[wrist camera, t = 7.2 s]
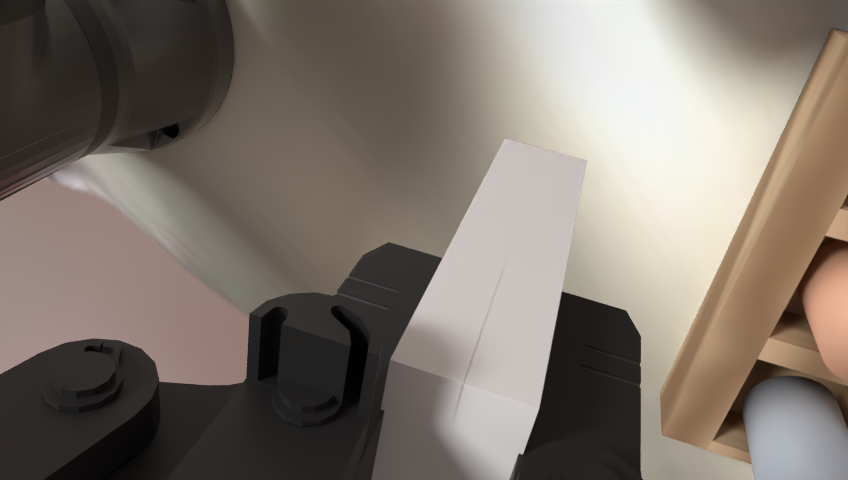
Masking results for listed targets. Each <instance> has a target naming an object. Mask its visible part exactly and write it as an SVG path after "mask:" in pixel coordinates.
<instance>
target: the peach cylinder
mask: <svg viewBox="0 0 848 480" xmlns="http://www.w3.org/2000/svg"><path fill="white" fill-rule="evenodd" d="M797 292H798V295H799V298H800V300H801V303H802V306H803V308H804V311H805V314H806V316H807V319H808V322H809V324H810V327H811V330H812V333H813V335H814V338H815V341H816V343H817V346H818V349H819V351H820V354H821V357H822V359H823V361H824V363H825V365H826V366H827V367H828V368H829V370H830V371H831V372H832V373H834V374H835V375H836V376H838V377H839V378H841V379H843V380H845V381H847V382H848V242H847V241H844V240H840V241H835V242H832V243H829V244H827V245H824V246H822V247H820V248H819V249H817V251H816V253H815V255H814V257H813V258H812V260H811V262H810V264H809V266H808V268H807V269H806V271H805V273H804V275H803V277H802V278H801V280H800V282H799V284H798V286H797Z"/></svg>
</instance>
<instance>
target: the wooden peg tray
mask: <svg viewBox="0 0 848 480" xmlns="http://www.w3.org/2000/svg"><path fill="white" fill-rule="evenodd" d="M840 240H844V241H847V242H848V32H847V31H842V30H838V29H833V28H832V29H831V31H830V33H829V35H828V37H827V39H826V42H825V44H824V46H823V48H822V50H821V52H820V54H819V56H818V59H817V61H816V63H815V65H814V67H813V69H812V71H811V73H810V76H809V78H808V80H807V82H806V84H805V86H804V88H803V90H802V93H801V95H800V97H799V99H798V101H797V103H796V105H795V107H794V110H793V112H792V114H791V116H790V118H789V120H788V122H787V124H786V127H785V129H784V131H783V133H782V135H781V137H780V139H779V141H778V144H777V146H776V148H775V150H774V152H773V154H772V156H771V158H770V161H769V163H768V165H767V167H766V169H765V171H764V173H763V175H762V178H761V180H760V182H759V184H758V186H757V188H756V190H755V192H754V195H753V197H752V199H751V201H750V203H749V205H748V207H747V209H746V212H745V214H744V216H743V218H742V220H741V222H740V224H739V226H738V229H737V231H736V233H735V235H734V237H733V239H732V241H731V243H730V246H729V248H728V250H727V252H726V254H725V256H724V258H723V260H722V263H721V265H720V267H719V269H718V271H717V273H716V275H715V277H714V280H713V282H712V284H711V286H710V288H709V290H708V292H707V294H706V297H705V299H704V301H703V303H702V305H701V307H700V309H699V312H698V314H697V316H696V318H695V320H694V322H693V324H692V326H691V329H690V331H689V333H688V335H687V337H686V339H685V341H684V343H683V346H682V348H681V350H680V352H679V354H678V356H677V358H676V360H675V363H674V365H673V367H672V369H671V371H670V373H669V375H668V377H667V380H666V382H665V384H664V386H663V388H662V390H661V392H660V399H661V427H662V435H663V436H666V437H670V438H673V439H676V440H679V441H682V442H685V443H688V444H691V445H694V446H697V447H700V448H704V449H707V450H710V451H713V452H716V453H719V454H722V455H725V456H728V457H731V458H734V459H738V460H741V461H744V462H747V463H750V464H752V463H751V457H750V452H749V447H748V441H747V436H746V431H745V425H744V420H743V414H742V404H743V401H744V398H745V396H746V395H747V393H748V392H749V391H750V390H751V389H752V388H753V387H754V386H756V385H757V384H759V383H761V382H763V381H765V380H767V379H770V378H774V377H778V376H801V377H806V378H810V379H813V380H815V381H817V382H819V383H821V384H823V385H824V386H826V387H827V388H828V389H829V390H830V391H831V392H832V393H833V394H834V396H835V397H836V399H837V402H838V404H839V407H840V410H841V412H842V415H843V418H844V421H845V423H846V426H847V429H848V382H847V381H845V380H843V379H841V378H839V377H838V376H836V375H835V374H834V373H832V372H831V371H830V370H829V368H828V367H827V366H826V365H825V363H824V361H823V359H822V357H821V354H820V351H819V349H818V346H817V343H816V341H815V338H814V335H813V333H812V330H811V327H810V324H809V322H808V319H807V316H806V314H805V311H804V308H803V306H802V303H801V300H800V298H799V295H798V292H797V286H798V284H799V282H800V280H801V278H802V277H803V275H804V273H805V271H806V269H807V268H808V266H809V264H810V262H811V260H812V258H813V257H814V255H815V253H816V251H817V249H819V248H820V247H822V246H824V245H827V244H829V243H832V242H835V241H840Z"/></svg>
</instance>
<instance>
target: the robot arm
mask: <svg viewBox="0 0 848 480" xmlns="http://www.w3.org/2000/svg"><path fill="white" fill-rule="evenodd" d="M233 58H234V46H233V35H232V28H231V23H230V18H229V14H228V11H227V7H226V4H225V1H224V0H0V201H1V200H3V199H5V198H7V197H9V196H11V195H13V194H15V193H17V192H18V191H20V190H22V189H24V188H26V187H28V186H30V185H32V184H33V183H35V182H37V181H39V180H41V179H43V178H45V177H47V176H48V175H50V174H52V173H54V172H56V171H58V170H60V169H62V168H63V167H65V166H67V165H69V164H71V163H72V162H74V161H76V160H78V159H80V158H82V157H84V156H86V155H92V154H108V153H123V152H139V151H150V150H155V149H159V148H163V147H166V146H169V145H171V144H173V143H175V142H177V141H179V140H181V139H183V138H184V137H186V136H188V135H190V134H191V133H193V132H195V131H196V130H198V129H200V128H201V127H202V126H204V125H205V124H206V123H207V122H208V121H209V120H210V119H211V118H212V117H213V116H214V114H215V113H216V112H217V110H218V109H219V107H220V105H221V104H222V102H223V100H224V98H225V95H226V93H227V90H228V87H229V84H230V80H231V75H232V69H233ZM586 163H587V161H586V160H583V159H579V158H575V157H571V156H568V155H564V154H560V153H556V152H553V151H549V150H545V149H542V148H538V147H534V146H530V145H527V144H523V143H519V142H515V141H512V140H508V139H504V141H503V143H502V145H501V147H500V149H499V151H498V153H497V154H496V156H495V158H494V160H493V162H492V164H491V166H490V168H489V170H488V172H487V174H486V176H485V178H484V180H483V181H482V183H481V185H480V187H479V189H478V191H477V193H476V195H475V197H474V199H473V201H472V203H471V205H470V206H469V208H468V210H467V212H466V214H465V216H464V218H463V220H462V222H461V224H460V226H459V228H458V230H457V232H456V233H455V235H454V237H453V239H452V241H451V243H450V245H449V247H448V249H447V251H446V253H445V255H444V257H443V258H440V257H436V256H433V255H430V254H426V253H423V252H419V251H416V250H413V249H409V248H406V247H403V246H399V245H396V244H393V243H389V242H388V243H386V244H384V245H382V246H380V247H378V248H376V249H374V250H372V251H370V252H368V253H366V254H364V255H363V256H362V258H361V259H360V261H359V262H358V263H357V265H356V266H355V267H354V269H353V270H352V272H351V273H350V274H349V278H346V280H345V281H344V282H343V284H342V285H341V287H340V288H339V289H338V291H337V294H336V295H334V296H330V295H325V294H320V293H298V294H288V295H285V296H281V297H278V298H275V299H272V300H269V301H266V302H265V303H263V304H262V305H261V306H259V307H258V308H257V309H255V310H254V311H253V312H251V313H250V317H249V337H248V357H247V358H248V359H247V378H246V379H245V381H244V382H243V383H239V384H233V385H218V386H217V385H213V386H212V385H195V384H180V383H167V382H159V377H158V374H157V369H156V365H155V362H154V361H153V360H152V359H151V358H150V357H149V356H148V355H147V354H146V353H145V352H144V351H143V350H142V349H140V348H138V347H135V346H132V345H130V344H127V343H124V342H122V341H118V340H106V339H87V340H81V341H74V342H68V343H64V344H61V345H59V346H56V347H54V348H51V349H49V350H46V351H44V352H41V353H39V354H37V355H35V356H33V357H31V358H30V359H28V360H26V361H24V362H22V363H20V364H19V365H17V366H15V367H13V368H11V369H9V370H8V371H6V372H4V373H2V374H0V480H643V479H642V478H641V471H640V442H641V388H639V387H640V383H641V367H640V362H641V336H640V334H639V332H638V331H637V329H636V327H635V325H634V324H633V322H632V320H631V318H630V317H629V315H628V313H627V311H625V310H622V309H619V308H615V307H612V306H609V305H605V304H602V303H599V302H595V301H592V300H589V299H585V298H582V297H579V296H575V295H572V294H569V293H565V292H562V287H563V282H564V277H565V272H566V267H567V261H568V256H569V251H570V246H571V241H572V235H573V230H574V225H575V220H576V215H577V209H578V204H579V199H580V194H581V189H582V183H583V178H584V173H585V168H586Z"/></svg>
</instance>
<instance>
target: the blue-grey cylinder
mask: <svg viewBox="0 0 848 480" xmlns="http://www.w3.org/2000/svg"><path fill="white" fill-rule="evenodd" d="M742 414H743V420H744V425H745V431H746V436H747V441H748V447H749V452H750V457H751V463H752V468H753V474H754V479H755V480H848V429H847V426H846V423H845V421H844V418H843V415H842V412H841V410H840V407H839V404H838V402H837V399H836V397H835V396H834V394H833V393H832V392H831V391H830V390H829V389H828V388H827V387H826V386H824V385H823V384H821V383H819V382H817V381H815V380H813V379H810V378H806V377H801V376H778V377H774V378H770V379H767V380H765V381H763V382H761V383H759V384H757V385H756V386H754V387H753V388H752V389H751V390H750V391H749V392H748V393H747V395H746V396H745V398H744V401H743V404H742Z"/></svg>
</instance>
